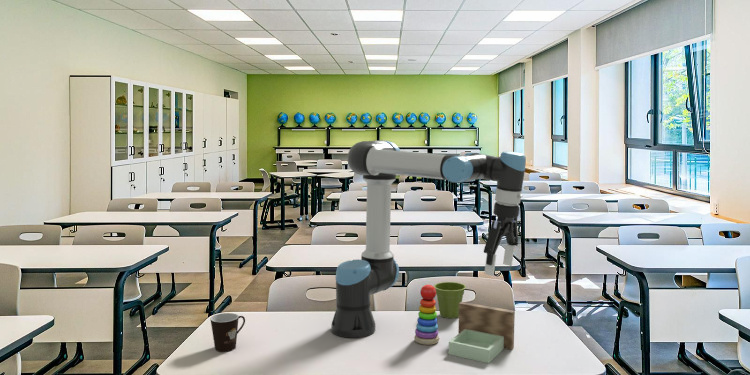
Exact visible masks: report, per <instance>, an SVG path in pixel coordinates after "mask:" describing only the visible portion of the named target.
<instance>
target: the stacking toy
mask: <svg viewBox="0 0 750 375" xmlns="http://www.w3.org/2000/svg"><path fill="white" fill-rule="evenodd" d="M419 294H420V297H421V298H422V299H421V300H420V301H419V304H420V305H419V308H418V310H419V311H418V314H417V315H418V317H417V323H416V329H415V331H414V333H415V335H414V336H413V337H414V341H415V342H416V343H417V344H420V345H424V346H425V345H427V346H431V345H435V344H437V343H438V342H439V341H440V338H439V330H438V329H439V325H438V319H437V316H438V313H437V312H436V311H437V308H436V303H437V302H436V300H435V298H436V297H437V294H436V289H435V288H434V285H431V284H425V285H423V286H422V287H421V289H420V293H419Z"/></svg>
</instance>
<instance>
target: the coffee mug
mask: <svg viewBox="0 0 750 375" xmlns="http://www.w3.org/2000/svg"><path fill="white" fill-rule="evenodd" d="M240 319H242V324H241V326H240V327H239V320H240ZM245 324H246V318H245V316H243V315H239V314H237V313H233V312H222V313H218V314H214V315H213V316H211V317H210V325H211V332H212V337H213V345H214V350H215V351H216V352H218V353H227V352H231V351H234V350H236V348H237V339H238V334H239V333H240V331H241V330H242V329H243V328H244V326H245Z"/></svg>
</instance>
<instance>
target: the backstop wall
mask: <svg viewBox="0 0 750 375" xmlns="http://www.w3.org/2000/svg"><path fill="white" fill-rule="evenodd" d="M515 312H516V311H515V310H511V309H505V308H500V307H494V306H488V305H487V306H486V305H482V304H477V303H469V302H464V301H462V302H460V303H459V317H458V330H457V331H458V334H459V333H460V332H462V331H463V330H464V329H469V330H474V331H479V332H484V333H489V334H494V335H499V336H504V349H505V350H513V349H514V348H515V320H516V319H515V318H516V317H515ZM458 334H457V335H458Z"/></svg>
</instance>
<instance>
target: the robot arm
mask: <svg viewBox="0 0 750 375" xmlns="http://www.w3.org/2000/svg"><path fill="white" fill-rule="evenodd" d="M526 159H527V158H526V155H525V154H524V153H522V152H521V153H520V152H517V151H502V152H501V153H500V156H494V155H488V154H483V153H479V152H466V153H465V154H464V155H455V154H442V153H441V154H440V153H430V152H414V151H403V150H401V149H400V147H398V145H397V144H395V142H392V141H389V140H383V139H380V140H379V139H378V140H366V141H365V140H364V141H363V140H362V141H359V142H356V143H355V144H353V145H352V146H351V147H350V149H349V150H348V153H347V164H348V166H349V168H350V169H351V171H352V172H353V173H355V175H359V176H362V179H363V180H364V181H365V183H366V211H365V212H366V216H365V217H366V219H365V221H366V222H365V229H366V230H365V250H364V251H363V252H361V256H360V259H352V260H350V259H349V260H346V261H343V262H342V263H340V264H339V265H337V268H336V272H335V273H336V274H335V298H336V299H335V300H336V308H335V312H334V315H333V318H332V321H331V333H333V335H335V336H338V337H341V338H348V339H349V338H351V339H353V338H364V337H368V336H370V335H372V334H374V333H375V332H376V321H375V318H374V316H373V312H372V309H371V296H372V295H375V294H377V293H381V292H382V291H383V292H384V291H387V290H388V289H389V288H392V287H393V286H394V285H395V284H396V283H397V281H399V280H398V279H399V276H400V268H399V265H398V263H397V261H396V259H395V257H394V256H395V255H394V253H393V252H392V250H391V249H390V248H391V247H390V245H391V244H390V242H391V210H392V206H391V205H392V184H393V183H394V182H395V181H396V178H397V176H407V177H415V178H416V177H419V178H426V179H437V180H445V181H449V182H450V183H457V184H460V183H464V182H469V181H475V180H480V179H481V180H488V181H492V182H496V189H495V197H494V201H495V202H494V204H493V215H495V216H496V217H497V218H496V219H497V220H492V221H491V224H490V225H491V226H490V230H489V233H488V237H487V238H486V239H487V240H486V242H485V246H484V248H483V254H486V258H485V264H484V274H485V275H488V276H491V277H493V276H494V275H495V267H496V260H497V254H496V252H497V250H498V248H499V246H500V243H501V241H502V238H503V237H505V240H506V243H505V247H504V254H503V255H504V256H503V263H502V264H503V265H506V266H509V267H512V266H513V259H514V252H515V247H516V246H517V247H518V245H519V243H518V242H519V232H518V217H519V215H520V208H521V206H520V205H519V204H521V199H522V198H523V195H522V193H523V192H522V191H523V185H524V184H523V183H524V177H525V172H526ZM396 175H397V176H396Z"/></svg>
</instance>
